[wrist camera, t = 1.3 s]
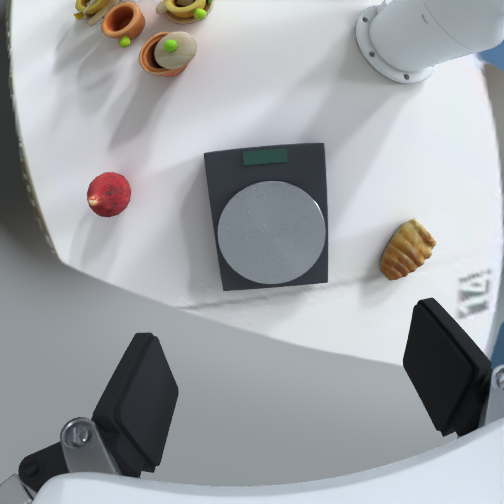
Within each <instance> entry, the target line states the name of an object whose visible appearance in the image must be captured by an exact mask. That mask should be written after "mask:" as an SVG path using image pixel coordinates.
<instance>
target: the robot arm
mask: <svg viewBox="0 0 504 504" xmlns="http://www.w3.org/2000/svg"><path fill="white" fill-rule="evenodd" d="M356 38H357V42H358V45H359V47H360V50H361V51H362V53H363V55H364V56H365V58H366V59H367V60H368V62H369V63H370V64H371V65H372V66H373V67H374V68H375V69H376V70H377V71H379V72H380V73H381V74H383V75H384V76H386V77H388V78H390V79H392V80H394V81H397V82H401V83H417V82H420V81H423V80H425V79H427V78H428V77H429V76H430V75H431V74H432V73H433V71H434V69H435V67H436V64H439V63H442V62H446V61H449V60H452V59H455V58H459V57H462V56H466V55H469V54H473V53H476V52H480V51H484V50H487V49H491V48H494V47H496V46H497V45H499V44H500V43H501V42H502V41H503V40H504V0H384V1H383V3H382V4H381V5H375V6H372V7H369V8H368V9H367V10H365V11H364V12H363V13H362V14H361V15H360V17H359V19H358V20H357V24H356ZM369 54H370V55H371V56H372V57H371V56H370V55H369ZM404 77H405V78H404ZM491 365H492V363H491V362H490V360H489V359H488V358H487V357H486V355H485V354H484V353H483V352H482V351H481V350H480V348H479V347H478V346H477V345H476V344H475V342H474V341H473V340H472V339H471V338H470V337H469V336H468V334H467V333H466V332H465V331H464V330H463V329H462V328H461V327H460V326H459V324H458V323H457V322H456V321H455V320H454V319H453V318H452V317H451V316H450V315H449V314H448V312H447V311H446V310H445V309H444V308H443V307H442V306H441V305H440V304H439V303H438V302H437V301H436V300H435V299H434V298H427V299H423V300H419V301H418V303H417V305H415V306H414V308H413V314H412V320H411V325H410V330H409V335H408V340H407V344H406V349H405V353H404V357H403V366H404V369H405V370H406V372H407V374H408V376H409V378H410V380H411V381H412V383H413V385H414V387H415V389H416V391H417V393H418V395H419V397H420V398H421V400H422V402H423V404H424V406H425V408H426V410H427V412H428V414H429V416H430V418H431V420H432V422H433V424H434V426H435V428H436V430H438V431H441V433H442V435H443V437H444V436H446V435H449V434H451V433H453V432H455V431H456V433H457V435H458V437H457V439H455V440H453V441H451V442H449V443H446V444H444V445H441V446H439V447H436V448H434V449H431V450H429V451H426V452H424V453H421V454H418V455H416V456H413V457H410V458H407V459H404V460H401V461H398V462H395V463H391V464H388V465H385V466H381V467H377V468H374V469H370V470H366V471H362V472H357V473H354V474H349V475H344V476H339V477H333V478H328V479H322V480H316V481H308V482H300V483H292V484H282V485H269V486H268V485H266V486H240V487H239V486H238V487H237V486H234V487H233V486H232V487H231V486H202V485H189V484H178V483H168V482H159V481H153V480H145V479H141V478H140V475H141V471H145V472H152V473H154V470H155V467H156V466H159V465H160V462H161V459H162V455H163V450H164V446H165V443H166V439H167V435H168V431H169V427H170V424H171V420H172V416H173V413H174V409H175V405H176V401H177V397H178V387H177V384H176V382H175V379H174V377H173V375H172V372H171V370H170V368H169V365H168V362H167V360H166V357H165V355H164V353H163V350H162V347H161V345H160V342H159V339H158V338H157V337H156V336H154V335H153V334H152V333H136V334H135V336H134V337H133V339H132V341H131V343H130V344H129V346H128V348H127V350H126V351H125V353H124V355H123V357H122V359H121V361H120V363H119V364H118V366H117V368H116V370H115V372H114V373H113V375H112V377H111V379H110V381H109V383H108V385H107V387H106V389H105V391H104V393H103V394H102V396H101V398H100V400H99V402H98V404H97V406H96V408H95V410H94V412H93V416H92V419H91V420H90V419H89V418H85V417H78V418H74V419H72V420H70V421H69V422H67V423H66V424H65V425H64V427H63V428H62V430H61V433H60V442H58V443H56V444H54V445H51V446H49V447H47V448H45V449H42V450H40V451H38V452H35V453H33V454H31V455H28V456H27V457H25V458H24V459H23V460H22V461H21V463H20V465H19V470H18V471H19V475H17V474H15V473H14V474H13V475H12V476H10V477H9V478H8V479H7V480H5V481H4V482H3V483H2V484H0V504H504V364H503V365H499V366H498V367H496V368H495V369H494V370H492V368H491Z"/></svg>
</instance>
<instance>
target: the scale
mask: <svg viewBox="0 0 504 504" xmlns="http://www.w3.org/2000/svg"><path fill="white" fill-rule="evenodd" d="M204 159H205V167H206V175H207V183H208V191H209V198H210V205H211V213H212V220H213V227H214V233H215V240H216V247H217V253H218V260H219V266H220V273H221V279H222V285H223V291H230V290H245V289H259V288H272V287H284V286H296V285H307V284H318V283H327V282H328V210H327V184H326V165H325V150H324V143H304V144H286V145H272V146H260V147H249V148H239V149H230V150H222V151H214V152H207V153H204ZM263 181H282V182H286V183H290V184H292V185H295V186H297V187H298V188H300V189H302V190H303V191H305V192H306V193H307V194H308V195H309V196H310V197H311V198H312V199H313V200H314V201H315V202H316V204H317V205H318V207H319V209H320V210H321V213H322V215H323V218H324V222H325V230H326V234H325V242H324V246H323V249H322V252H321V254H320V256H319V258H318V259H317V261H316V262H315V263H314V265H313V266H312V267H311V268H310V269H309V270H308V271H307V272H305V273H304V274H302V275H301V276H299V277H297V278H296V279H293V280H291V281H288V282H284V283H279V284H263V283H258V282H254V281H252V280H249V279H247V278H245V277H243V276H241V275H240V274H238V273H237V272H236V271H235V270H234V269H233V268H232V267H231V266H230V265H229V264H228V263H227V261H226V260H225V258H224V256H223V254H222V252H221V250H220V247H219V242H218V224H219V219H220V217H221V214H222V212H223V210H224V208H225V206H226V205H227V203H228V202H229V200H230V199H231V198H232V197H233V196H234V195H235V194H236V193H238V192H239V191H240V190H242V189H244V188H245V187H247V186H249V185H252V184H254V183H258V182H263Z"/></svg>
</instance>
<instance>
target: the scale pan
mask: <svg viewBox="0 0 504 504" xmlns="http://www.w3.org/2000/svg"><path fill="white" fill-rule="evenodd" d="M325 234H326V230H325V222H324V218H323V215H322V213H321V210H320V209H319V207H318V205H317V204H316V202H315V201H314V200H313V199H312V198H311V197H310V196H309V195H308V194H307V193H306V192H305V191H303V190H302V189H300V188H298V187H297V186H295V185H292V184H290V183H286V182H282V181H263V182H258V183H254V184H252V185H249V186H247V187H245V188H244V189H242V190H240V191H239V192H238V193H236V194H235V195H234V196H233V197H232V198H231V199H230V200H229V202H228V203H227V205H226V206H225V208H224V210H223V212H222V214H221V217H220V219H219V224H218V242H219V247H220V250H221V252H222V254H223V256H224V258H225V260H226V261H227V263H228V264H229V265H230V266H231V267H232V268H233V269H234V270H235V271H236V272H237V273H238V274H240V275H241V276H243V277H245V278H247V279H249V280H252V281H254V282H258V283H263V284H279V283H284V282H288V281H291V280H293V279H296V278H297V277H299V276H301V275H302V274H304V273H305V272H307V271H308V270H309V269H310V268H311V267H312V266H313V265H314V263H315V262H316V261H317V259H318V258H319V256H320V254H321V252H322V249H323V246H324V242H325Z"/></svg>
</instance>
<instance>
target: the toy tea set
mask: <svg viewBox="0 0 504 504" xmlns="http://www.w3.org/2000/svg"><path fill="white" fill-rule="evenodd" d="M119 2H120V0H77V1H76V4H75V6H76V9H77V10H78V11H79V13H76V14H74V16H75V17H76V18H77V19H78V20H80V19H83V18H84V19H85V20H88V22H87V24H88V25H89V26H93V25H94V24H95V23H96V22H98V20H99V19H100V18H102V17H104V18H103V20H102V23H101V29H102V32H103V33H104V34H105V35H106V36H109V37H112V38H116V39H120V41H119V45H120V47H123V48H125V47H127V46H129V44H130V39H133V38H135V37H136V36H138V35H139V34H140V33H141V31H142V30H143V28H144V26H145V19H144V17H143V15H142V13H141V11H140V10H139V8H138V6H137V5H136V4H134V3H132V2H123V3H120V4H119ZM213 4H214V0H164V1H162V2H161V3H160V4H159V5H158V6H157V8H156V12H157V13H158V14H164V13H165V14H166V16H167V17H168V18H169V19H170V20H171V21H173V22H175V23H179V24H189V23H193V22H196V21H199V20H201V19H203V18H205V16H207V15H208V14H209V12H210V11H211V9H212V7H213ZM196 48H197V45H196V41H195V39H194V38H193V37H192V36H191V35H190V34H188V33H186V32H173V33H172V32H162V33H158V34H156V35H154V36H152V37H151V38H149V39H148V40H147V41H146V42H145V43H144V45H143V46H142V48H141V51H140V54H139V62H140V65H141V67H142V68H143V69H144V70H145V71H146V72H148V73H150V74H154V75H160V76H167V77H170V76H175V75H177V74H179V73H181V72H182V71H183V70H184V69H185V67H186V66H187V64H188V63H189V62H190V61H191V60H192V59H193V57H194V55H195V53H196Z"/></svg>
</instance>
